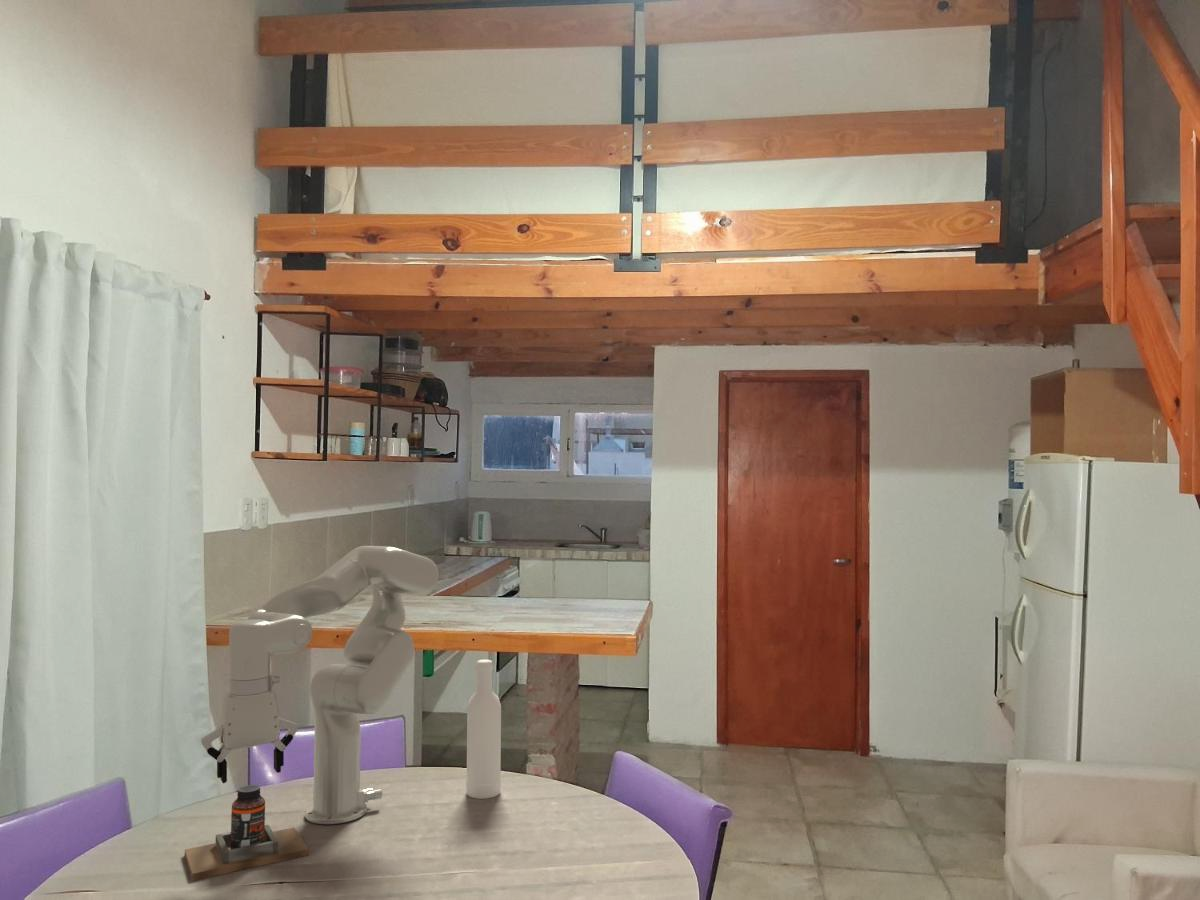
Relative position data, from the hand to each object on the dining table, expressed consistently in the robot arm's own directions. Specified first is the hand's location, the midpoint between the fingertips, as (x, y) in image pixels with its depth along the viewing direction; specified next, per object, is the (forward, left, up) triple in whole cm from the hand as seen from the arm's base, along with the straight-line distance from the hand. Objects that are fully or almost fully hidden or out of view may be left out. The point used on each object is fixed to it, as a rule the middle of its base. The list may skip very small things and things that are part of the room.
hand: (250, 775), depth 162 cm
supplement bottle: (0, 0, -14) cm, 14 cm away
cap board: (+1, 0, -15) cm, 15 cm away
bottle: (-51, -7, -15) cm, 54 cm away
